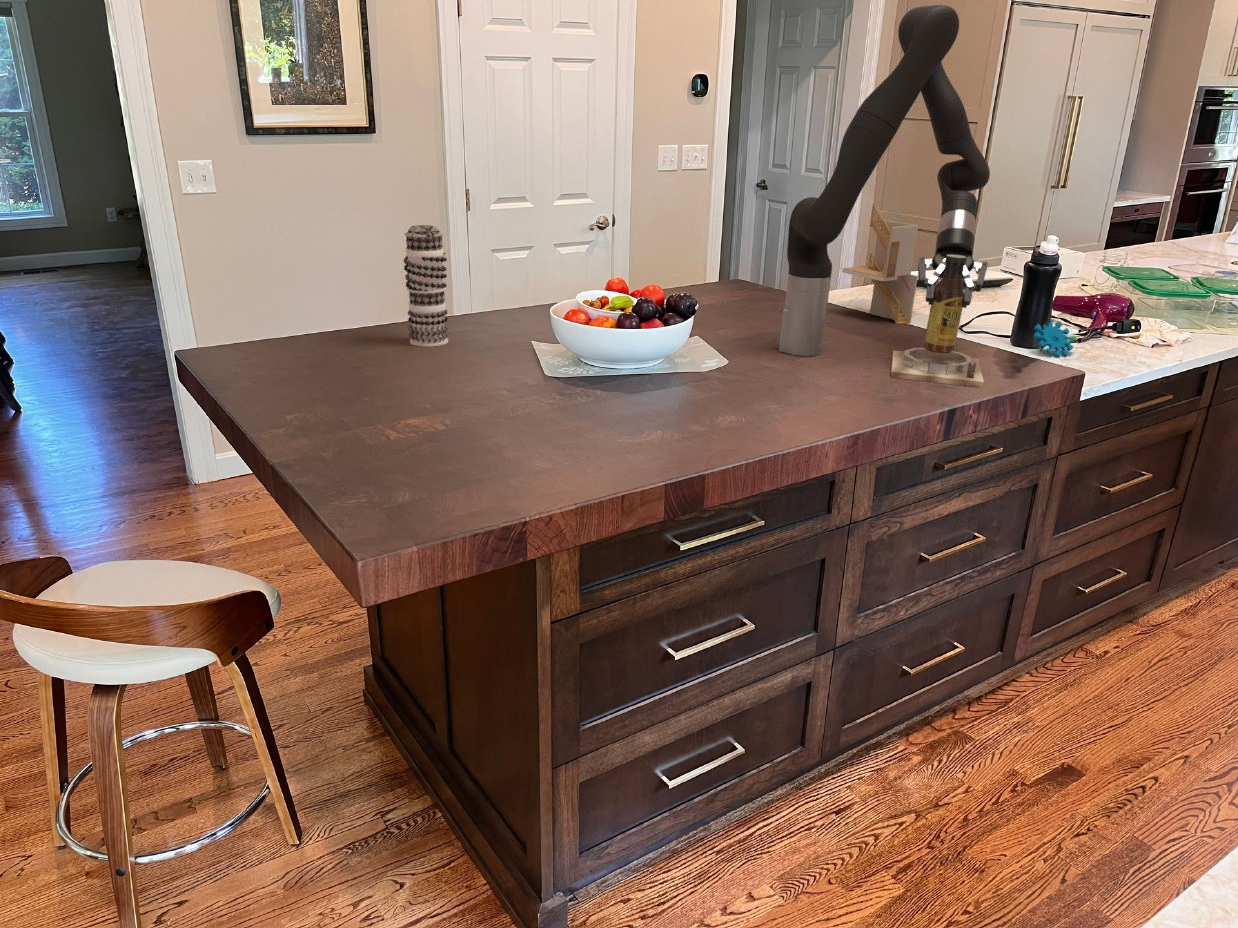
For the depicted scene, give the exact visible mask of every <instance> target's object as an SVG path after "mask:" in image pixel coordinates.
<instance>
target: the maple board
mask: <svg viewBox="0 0 1238 928" xmlns="http://www.w3.org/2000/svg"><path fill="white" fill-rule="evenodd" d="M904 352H905V350H903V351H901V350H893V351H892V359H891V367H890V368H891V369H890V370H891V371H890V378H895V379H904V380H913V381H920V382H929V383H937V384H938V383H939V384H946V385H947V384H948V385H957V386H963V385H967V386H966V387H972V386H974V388H981V387H984V384H985V381H984V377H983V373H982V369H981V365H980V362H979V359H977V358H971V359H972V362H974V363H976V368H975V374H974V378H967V373H964V374H958V375H942V374H933V373H926V372H922V371H919V370H915V369H911V368H910V367H908V366H906V365H904V364H903V358H904ZM916 359H919V360H923V361H927V362H931V363H940V364H958V363H956V362H952V361H948V360H944V359H936V358H916Z"/></svg>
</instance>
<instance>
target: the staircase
mask: <svg viewBox="0 0 1238 928" xmlns="http://www.w3.org/2000/svg"><path fill="white" fill-rule="evenodd" d="M869 227H872V229H873V231H874V232H875V234H876V235H877V236H876V243H875V247H874V248H875V250H874V257H873V255H872V254H873V253H872V252H870V253H869V256H868V262H867V265H859V266H853V267H852V266H850V267H843V268H842V271H841V273H844V274H848V275H853V276H857V277H861V278H866V279H871V282H872V283H873V291H872V296H871V304H870V311H869V314H871V315H874V316H879V317H881V318H885V319H890V320H893V321H894V322H895V323H894V324H895V325H897V324H901V325H906V324H908V325H909V324H911V321H912V315H913V309H914V303H915V296H916V292H917V291H916V290H917V284H918V275H915V274H912V268H913V263H914V262H913V261H914V255H915V249H916V243H917V236H918V232H919V225H917V224H910V223H904V222H900V221H899V222H898V221H891V220H885V219H884V218H883V216H882V215H881V213H880V211H879V210H878V208H877V207H876V203H873V204H872V209H871V216H870V223H869Z"/></svg>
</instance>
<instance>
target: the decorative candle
mask: <svg viewBox="0 0 1238 928" xmlns="http://www.w3.org/2000/svg"><path fill="white" fill-rule="evenodd" d="M404 235H405V237H406V240H405V243H406V248H405V257H404V258H403V263H404V265H403V267H404V268H403V270H404V271H405V272H406V273H407V274H405V276H404V277H405V280H406V281H405V287H406V291H408V293H409V295H408V297H409V302H408V311H407V315H408V316H409V317H408V319H407V321H408V322H410V324H409V325H408V327H407V328H408V331H409V333H408V337H409V338H410V340H409V344H411V345H413V346H415V347H416V346H417V347H424V348H426V347H427V348H428V347H429V348H430V347H440V346H444V345H446V344H448V342H449V338H448V336H449V332H448V330H449V325H448V324H447V323H446V322H448V319H449V318H448V317H447V316H446V315H448V310H447V309H446V308H447V306H446V305H447V304H446V300H445V291H447V283H445V282H444V279H446V278H447V276H448V275H447V274H446V273H445V272H446V271H447V270H448V269H447V267H446V266H445V265H443V264H444V263H445V262H447V261H448V259H447V258H446V256H445V255H446V252H444V248H443V236H444V233H442V232H441V231H440V230H439V228H438V227H437V226H435V225H430V224H429V225H428V224H427V225H426V224H425V225H423V224H419V225H418V224H417V225H412V226H410V227H409V228H408V230H407V232H405V233H404Z"/></svg>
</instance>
